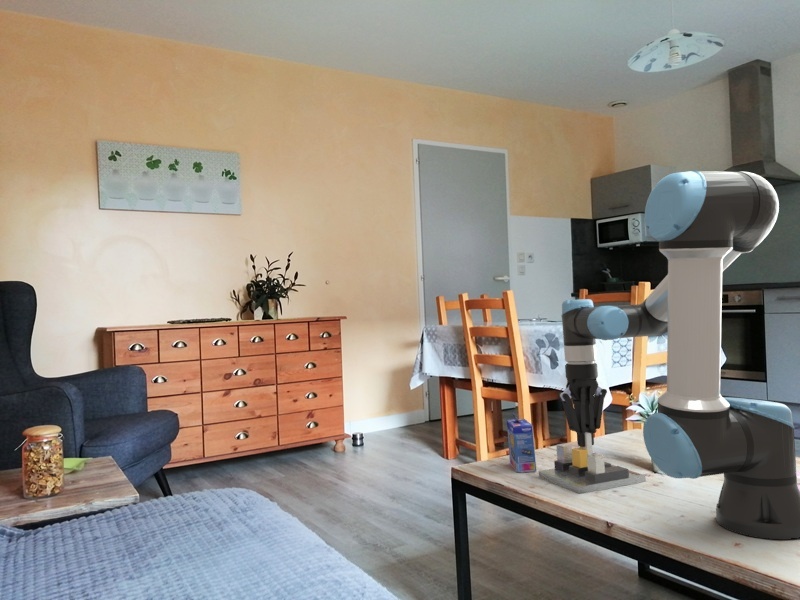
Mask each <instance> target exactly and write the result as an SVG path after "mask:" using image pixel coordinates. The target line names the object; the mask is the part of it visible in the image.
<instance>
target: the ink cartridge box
mask: <svg viewBox="0 0 800 600" xmlns="http://www.w3.org/2000/svg"><path fill="white" fill-rule="evenodd" d="M511 415H512V417H513V419H512V418H511V419H506V428H507V440H508V452H509V453H508V454H509V464H510V465H511V467H512V468H513V469H514V471H515V472H516V473H517V474H518V473H535V472H538V471H537V470H538V469H537V458H536V451H535V438H534V436H535V435H534V426H533V424H532V423H530V422H529V421H528V420H527V419H525V418H518V417H517V416H516V414H515V413H513V412H511Z"/></svg>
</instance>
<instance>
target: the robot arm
mask: <svg viewBox="0 0 800 600" xmlns="http://www.w3.org/2000/svg"><path fill="white" fill-rule="evenodd" d="M779 206H780V203H779V197H778V194H777V192H776V190H775V189H774V187H773V185H772V184H771V183H770V182H769V181H768V180H766V178H764V177H762V176H761V175H759V174H756V173H753V172H749V171H710V170H709V171H708V170H707V171H706V170H705V171H703V170H693V171H692V170H689V171H680V172H673V173H670V174H667V175H666V176H664V177H662V178H661V179H660V180H659V181H658V182H656V184H655V186H654V188H653V189H651V191H650V193H649V196H648V198H647V201H646V205H645V209H644V224H645V228H646V229H648V231H647V232H648V234H649V235H650V237H651V238H654V239H656V241H658V250H659V251H658V252H660V253H661V254H662V255H663V256H664V257H666V259H667V274H666V276H665V277H664V278H663V279H662V280H661V281H660V282H659V283H658V285H657V286H656V287H655V288H654V289H653V291H651V293H650V294H649V295H648V296H647V297H646V298H645V299H644V301H643V302H642V303H639V304H626V305H624V304H623V305H622V304H621V305H600V306H595V305H594V302H593V300H592V299H590V298H587V299H586V298H584V299H569V300H563V302H562V303H561V315H560V316H561V321H562V322H561V323H562V324H561V325H562V335H563V337H562V339H563V351H564V361H565V362H566V364H565V365H564V369H565V370H564V371H565V378H566V385H565V389H564V391H563V392H558V395H557V396H558V398H559V400H560V401H561V402H562V403H561V404H562V407H563V411H564V415H565V418H566V421H567V425H568V429H569V431H572V432H575V434H576V436H577V437H576V438H577V441H576V442H577V446H578V447H579V448H583V449H586V450H588V454H591V453H593V446H594V445H595V438H594V434H596V433H597V430H600V429H601V423H602V417H603V409H604V400H605V398H606V396H607V393H608V391H607V389H606V388H603V387H600V386H599V382H598V381H597V378H598V376H599V375H598V374H599V373H598V364H597V363H596V361H598V355H597V353H598V352H597V343H596V342H597V341H596V340H602V341H612V340H618V339H624V338H625V339H627V338H639V337H641V338H642V337H662V336H665V335H667V338H666V339H667V348H666V349H667V351H666V353H667V354H666V355H667V356H666V391H665V392H664V393H662V394H661V395H660V396H659V397H658V398H657V412H654V413H652V414H650V415H648V416H647V418H646V419H645V420H644V422H643V423H644V424H643V427H642V435H643V442H644V445H645V449H646V450H647V453H648V455H649V457H650V458H651V461H652V462H653V463H654V465H655V466H656V468H658V470H659V471H661V472H662V473H663V474H664V475H667V476H668V477H670V478H673V479H699V478H701V477H708V476H717V475H723V484H722V486H721V489H720V494H719V497H718V502H717V504H716V507H715V516H716V522H717V523H718V524H719V525H720V526H721V527H723V528H724V529H726V530H729V531H731V532H734V533H737V534H740V533H741V534H740V535H743V536H744V535H745V536H748V535H749V536H748V537H755V538H761V539H768V538H769V539H771V540H792V539H791V538H797V539H799V538H798V537H800V489H799V486H798V481H797V477H798V475H797V462H796V461H797V460H796V458H797V457H796V445H795V444H796V442H795V425H794V422H793V414H792V411H791V408H789V407H788V406H787V405H786V404H784V403H781V402H776V401H775V402H774V401H769V400H762V399H761V400H760V399H752V398H743V397H728V396H727V397H726V396H725V397H723V396H722V394H721V365H722V364H721V362H722V361H721V359H722V358H721V357H722V354H721V353H722V351H721V350H722V349H721V348H722V309H723V308H722V306H723V303H722V302H723V300H722V298H723V272H724V271H725V270H726V269H727V268H729V266H730V265H732V263H733V262H734V261H735V260H736V259H737V258H738V257H739V256H741V254H746V253H751V252H752V251H754V250H755V248H757V247H758V246H759V245H760V244H761V243H762V242H763V241H764V239H766V237H767V236H768V235H769V234H770V232H771V231H772V229H773V228H774V226H775V223H776V222H777V219H778V215H779V211H780V210H779V209H780V207H779Z"/></svg>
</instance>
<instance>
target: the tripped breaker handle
mask: <svg viewBox="0 0 800 600" xmlns="http://www.w3.org/2000/svg"><path fill="white" fill-rule="evenodd" d="M587 454H588V450H586V449H583V448H580V447H575V448H572V463H573V466H576V467H579V468H583V467H588V463H587Z"/></svg>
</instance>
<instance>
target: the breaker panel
mask: <svg viewBox="0 0 800 600" xmlns="http://www.w3.org/2000/svg"><path fill="white" fill-rule="evenodd" d="M572 449H573V446H572V445H571V444H567V443H560V444H556V459H557V460H554V461H553V463H554V468H550V469H543V470H538V478H540V479H543V480H544V481H546V482H549V483H552V484H555V485H557V486H559V487H561V488H564V489H566V490H569V491H572V492H574V493H576V494H579V495H580V494H586V493H591V492H596V491H601V490H606V489H612V488H617V487H624V486H628V485H629V486H630V485H634V484H638V483H644V482H646V481H647V480H646V474H644V473H641V472H637V471H634V470H632V469H628V468H626V467H622V466H619V465H614V464H612V463H610V462H607V461H605V456H604V454H601V453H597V452H592V453H591V454H587V463H588V467H583V468H579V467H576V466H573V463H572Z"/></svg>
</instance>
